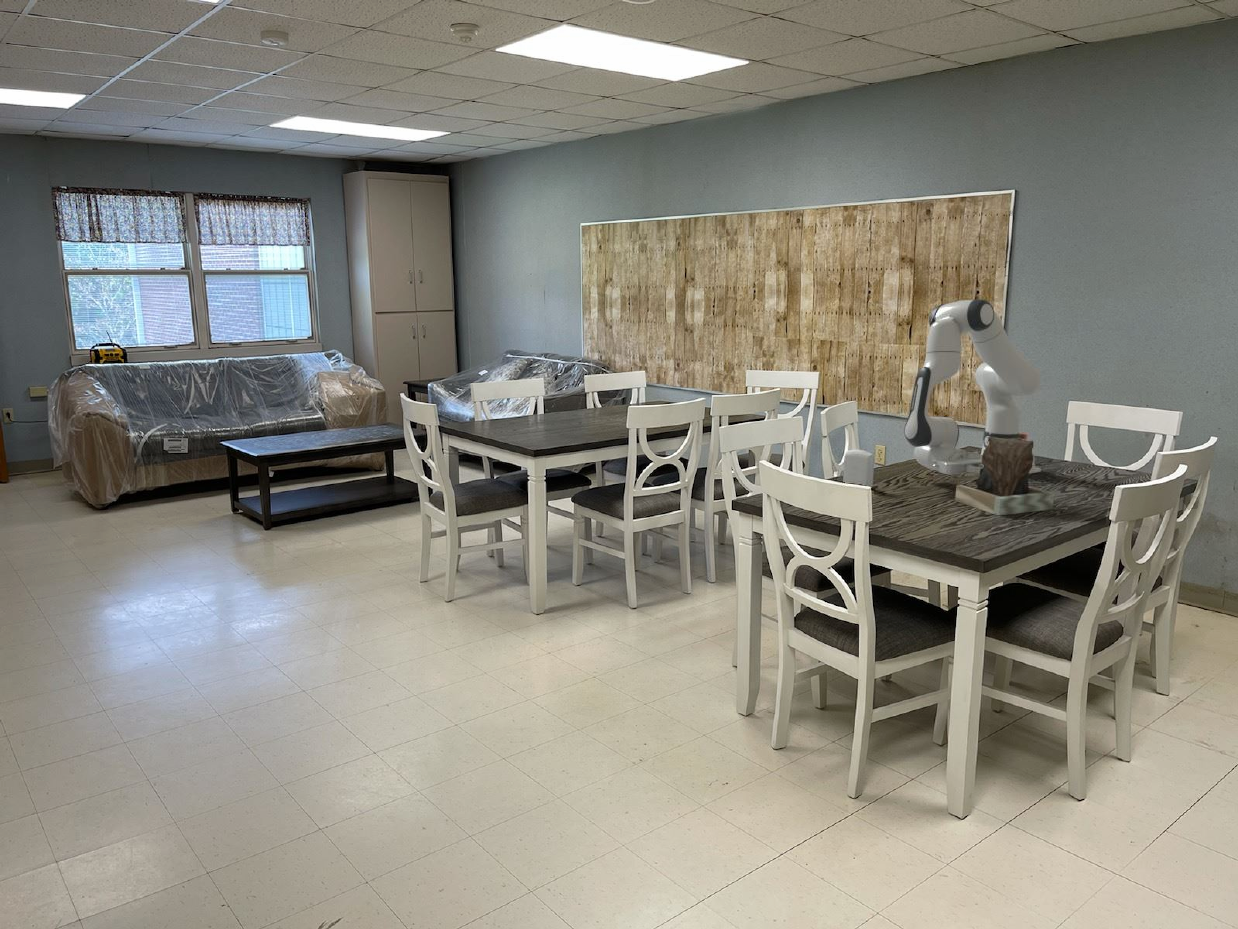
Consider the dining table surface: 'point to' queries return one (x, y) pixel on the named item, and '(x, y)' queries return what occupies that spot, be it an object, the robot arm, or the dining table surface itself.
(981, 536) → the dining table surface
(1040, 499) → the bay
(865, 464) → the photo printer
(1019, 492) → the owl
